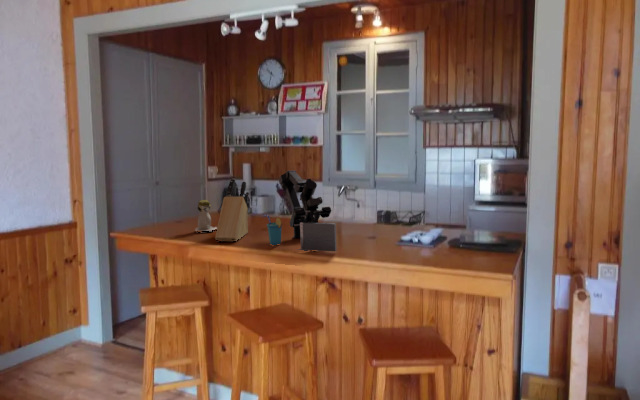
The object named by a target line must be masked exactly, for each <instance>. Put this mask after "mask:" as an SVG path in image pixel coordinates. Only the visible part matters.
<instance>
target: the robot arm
mask: <svg viewBox="0 0 640 400" xmlns="http://www.w3.org/2000/svg"><path fill="white" fill-rule="evenodd" d="M278 183H279V185H280V187H281V189H282V190H284V191H285V192H286V195H287V198H288V201H289V205H290V207H291V211H292V214H291V217H290V220H289V226H290V227H291V228H293V236H292V239H296V240H297V239H300V240H301V238H300V223H301V222H304V223H305V222H308V223H319V219H320V217H321V218H323V219H326V218H329V217H330V215H331V213H332V208H331V207H330V206H323V207H321V209H319V206H320V205H322V204H323V198H322V196H318V197H315V198H313V195H315V192H316V189H317V185H318V184H317V182H316V181H315V180H312V178H306V179H304V178H302V177H301V176H300V175H299V174H298V173H297V171H296V170H294V169H293V170H286V171H285V173H282V174H281V175H280V176H279V178H278ZM297 193H298V194H299V193H300V194H299V197H298V195H297ZM300 201H301V204H302V207H301V204H300Z"/></svg>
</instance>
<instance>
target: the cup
mask: <svg viewBox="0 0 640 400" xmlns="http://www.w3.org/2000/svg"><path fill="white" fill-rule="evenodd" d="M261 216H262V217H263V218H264V217H267V220H268V223H266V227H267V233H268V240H269V245H270V244H272V245H277V244H280V243H281V244H282V229H283V228H282V227H283V223H282V219H281V218H280V217H277V218H276V219H275V221H274V222H271V218H270V215H269V214H263V215H261Z"/></svg>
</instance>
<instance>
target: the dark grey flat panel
mask: <svg viewBox="0 0 640 400" xmlns="http://www.w3.org/2000/svg"><path fill="white" fill-rule="evenodd" d="M300 238H301V239H300V249H301V250H309V251H311V250H318V251H317V252H337V223H334V222H318V223H309V222H305V223H304V222H301V223H300Z"/></svg>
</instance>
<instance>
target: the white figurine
mask: <svg viewBox="0 0 640 400" xmlns="http://www.w3.org/2000/svg"><path fill="white" fill-rule="evenodd" d="M211 207H212V205H211V203H210V201H209V200H207V199H201V200H200V201H198V204H197V210H198V211H199V213H198V217H197V227H196V228H195V229H194V232H195V231H209V232H212V230H215V229H217V226H212V218H211V215H210V213H209V211H208V210H211Z"/></svg>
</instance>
